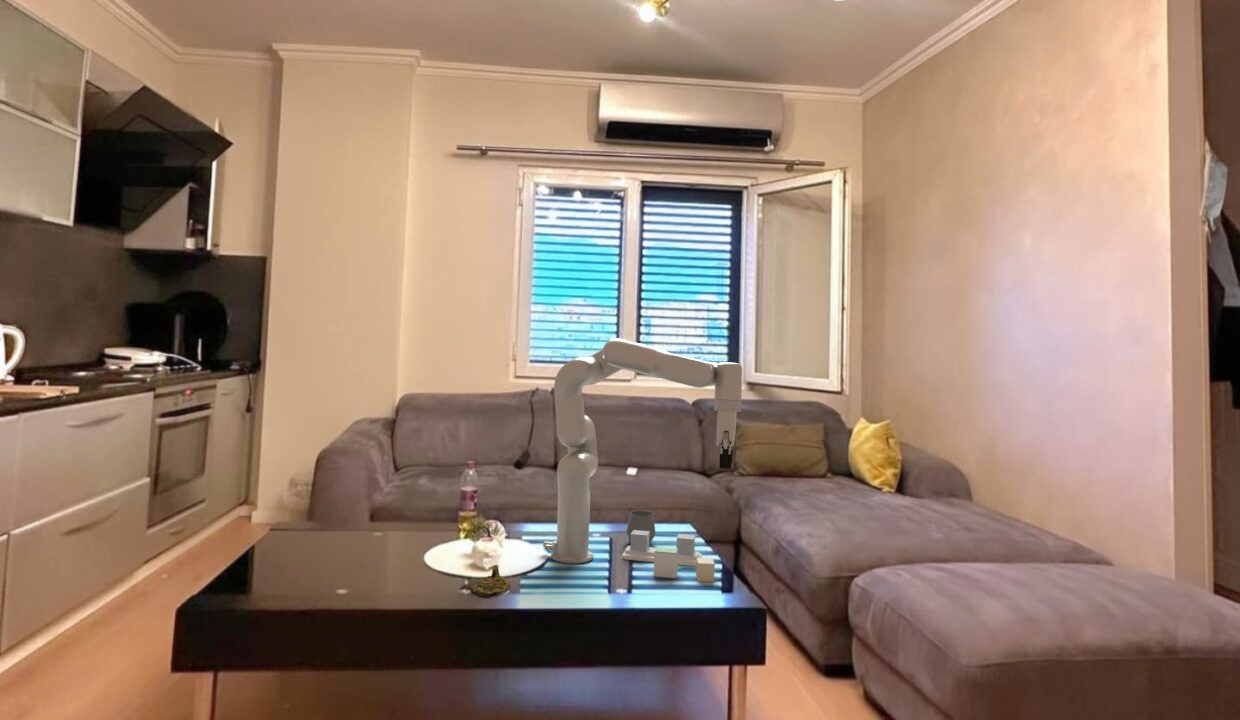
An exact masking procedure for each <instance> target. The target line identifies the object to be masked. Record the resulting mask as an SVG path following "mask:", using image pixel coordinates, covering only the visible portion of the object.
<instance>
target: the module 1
mask: <svg viewBox="0 0 1240 720" xmlns="http://www.w3.org/2000/svg"><path fill="white" fill-rule="evenodd" d="M655 548H656V549H655V551H654V562H653V577H659V578H670V579H676V577H677V574H678V564H677V558H678V549H676V547H675V548H674V547H666V546H665V547H664V546H656V547H655Z"/></svg>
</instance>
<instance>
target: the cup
mask: <svg viewBox="0 0 1240 720" xmlns="http://www.w3.org/2000/svg"><path fill="white" fill-rule="evenodd" d="M633 530H640V531H650V533H649V545H650V544H651V543H652V542H653V540H654V538H655V536H656V526H655V519H654V512H652V511H648V510H631V511H630V513H629V516H628V521H627V527H626V535H627V537H628V539H629V541H630V537H631V533H632V531H633Z"/></svg>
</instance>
